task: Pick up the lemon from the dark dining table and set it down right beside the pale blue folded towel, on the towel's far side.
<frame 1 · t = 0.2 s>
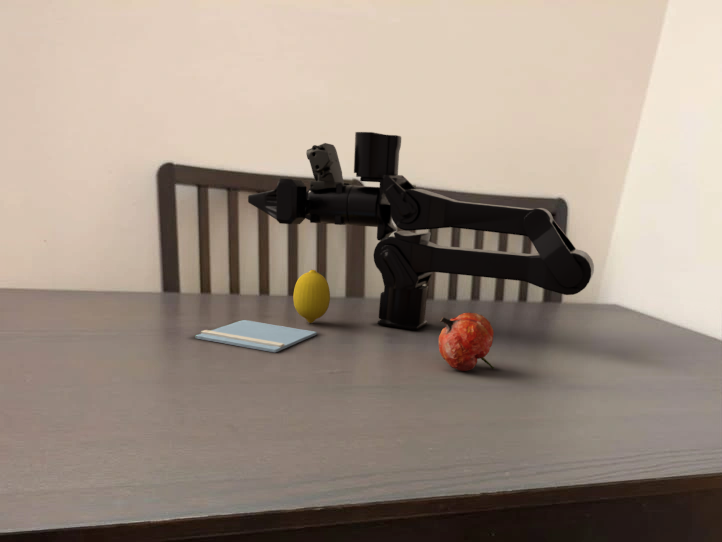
hand: (262, 199, 117), 16 cm above the table, tool horizontal, fingers open, 9 cm apart
pomegranate: (464, 369, 94), on the table
towel: (258, 336, 101), on the table
lemon: (310, 324, 112), on the table
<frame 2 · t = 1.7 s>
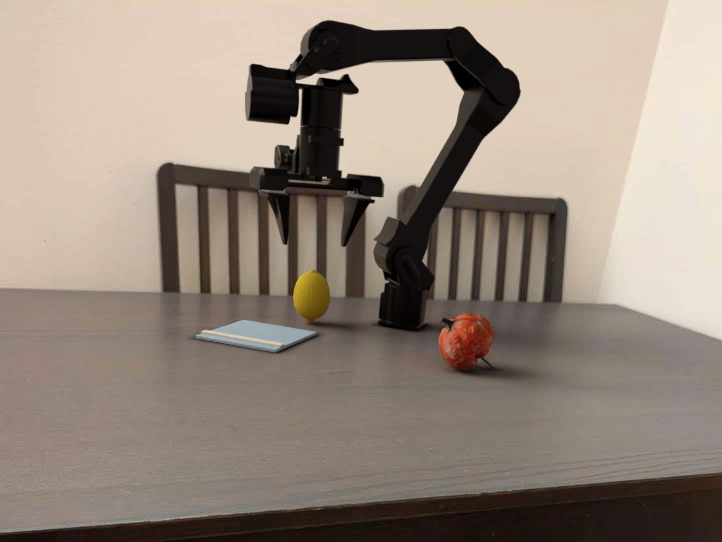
hand: (314, 245, 107), 11 cm above the table, tool pointing down, fingers open, 9 cm apart
nothing on the table moved.
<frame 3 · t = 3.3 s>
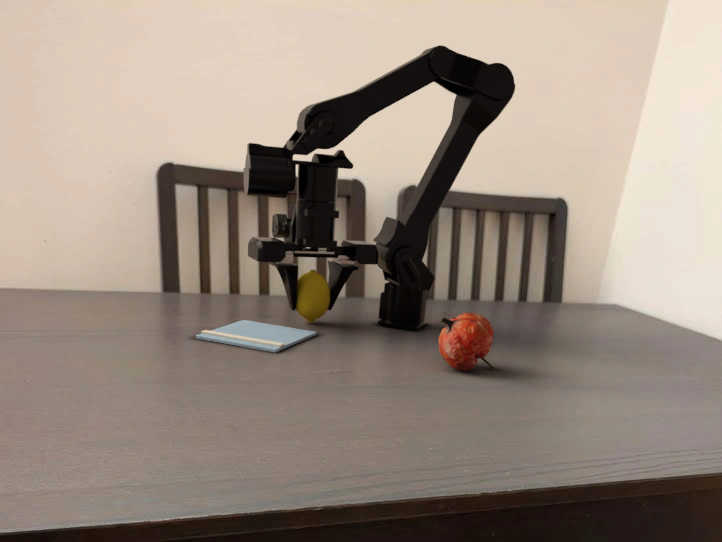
hand: (311, 309, 111), 2 cm above the table, tool pointing down, fingers closed on lemon, 5 cm apart
lemon: (310, 324, 112), on the table, touching gripper
everything else where it was.
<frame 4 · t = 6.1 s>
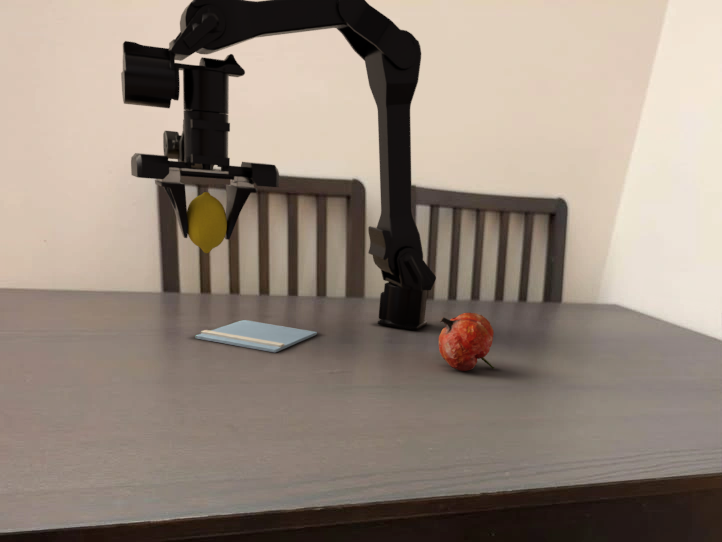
hand: (206, 238, 101), 12 cm above the table, tool pointing down, fingers closed on lemon, 5 cm apart
lemon: (206, 254, 101), point 10 cm above the table, touching gripper
everything else where it was.
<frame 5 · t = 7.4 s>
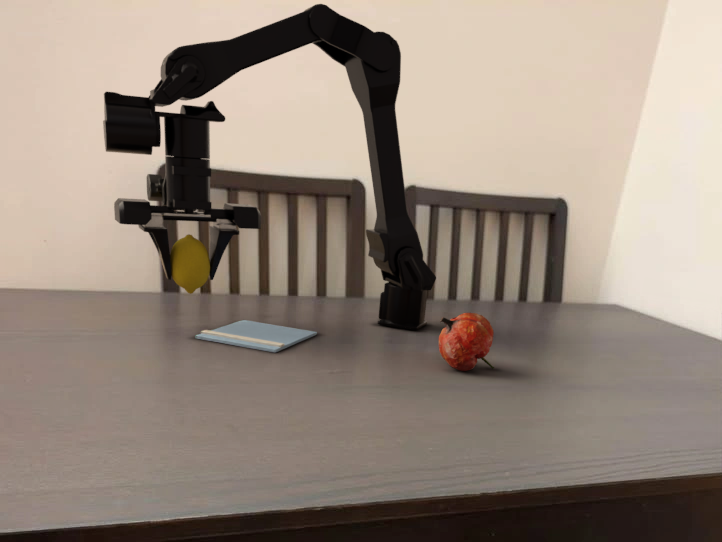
hand: (190, 279, 102), 6 cm above the table, tool pointing down, fingers closed on lemon, 5 cm apart
lemon: (190, 295, 103), point 4 cm above the table, touching gripper
everything else where it was.
when the fingers open (2 cm above the table, at t = 8.9 s): lemon stays where it is, on the table.
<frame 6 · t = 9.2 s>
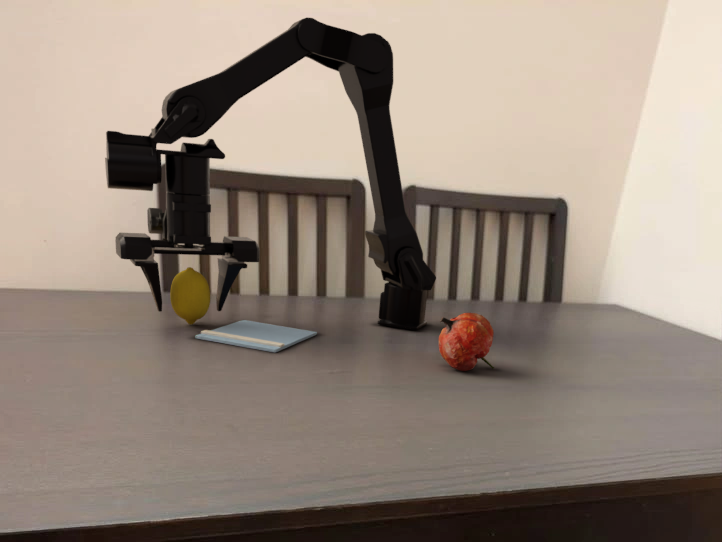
hand: (189, 310, 104), 2 cm above the table, tool pointing down, fingers open, 8 cm apart
lemon: (190, 325, 104), on the table
everything else where it was.
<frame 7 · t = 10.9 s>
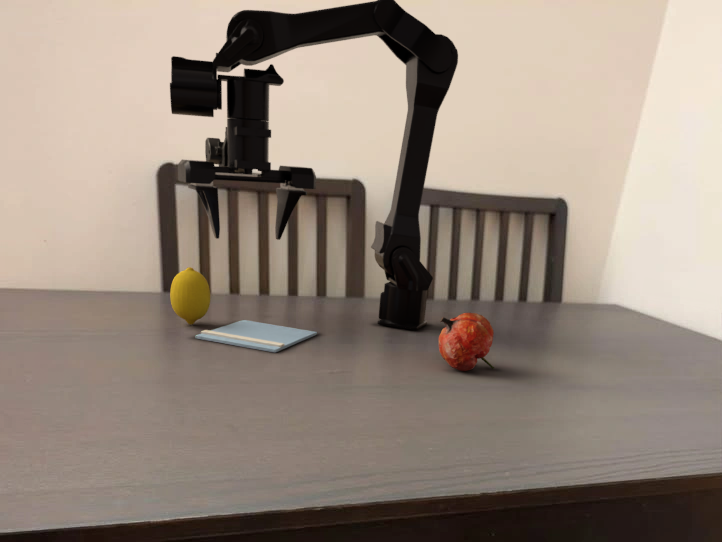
hand: (247, 238, 106), 12 cm above the table, tool pointing down, fingers open, 9 cm apart
nothing on the table moved.
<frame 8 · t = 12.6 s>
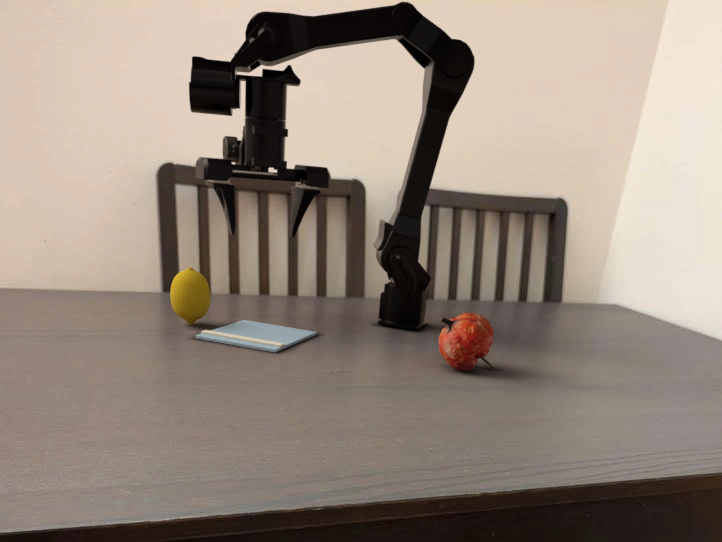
hand: (262, 235, 108), 12 cm above the table, tool pointing down, fingers open, 9 cm apart
nothing on the table moved.
at the end: lemon inside the target area (0.5 cm from its centre), on the table; lemon touching table; the gripper is holding nothing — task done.
